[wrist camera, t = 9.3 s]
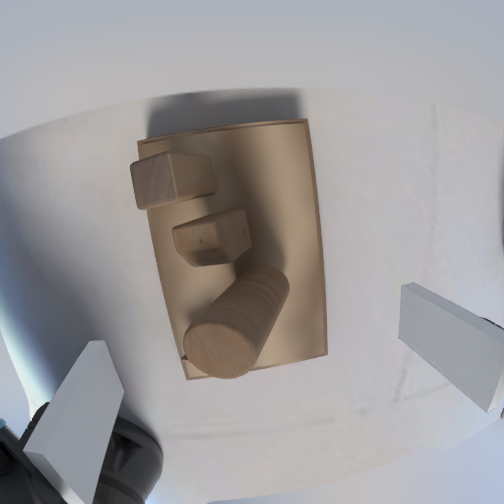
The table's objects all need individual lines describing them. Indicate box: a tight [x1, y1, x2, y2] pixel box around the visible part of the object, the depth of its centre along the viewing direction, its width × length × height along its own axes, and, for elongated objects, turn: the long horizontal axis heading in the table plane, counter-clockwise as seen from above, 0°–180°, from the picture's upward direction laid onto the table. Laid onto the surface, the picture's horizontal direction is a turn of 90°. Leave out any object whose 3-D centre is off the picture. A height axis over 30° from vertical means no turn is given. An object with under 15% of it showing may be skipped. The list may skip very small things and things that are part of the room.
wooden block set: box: [130, 151, 290, 379], centre depth 21 cm, size 18×9×10 cm, turn 11°
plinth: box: [137, 119, 328, 380], centre depth 27 cm, size 14×22×4 cm, turn 8°
